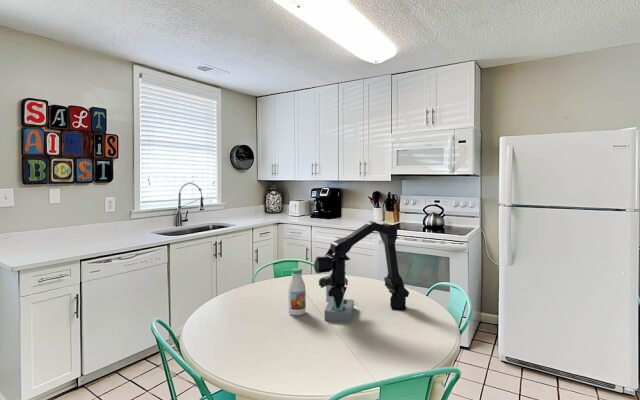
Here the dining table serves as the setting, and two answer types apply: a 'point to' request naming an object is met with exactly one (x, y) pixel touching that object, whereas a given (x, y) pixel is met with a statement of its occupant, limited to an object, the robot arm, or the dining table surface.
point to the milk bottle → (296, 294)
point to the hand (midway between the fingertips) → (338, 306)
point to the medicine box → (327, 293)
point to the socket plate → (339, 315)
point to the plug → (339, 307)
